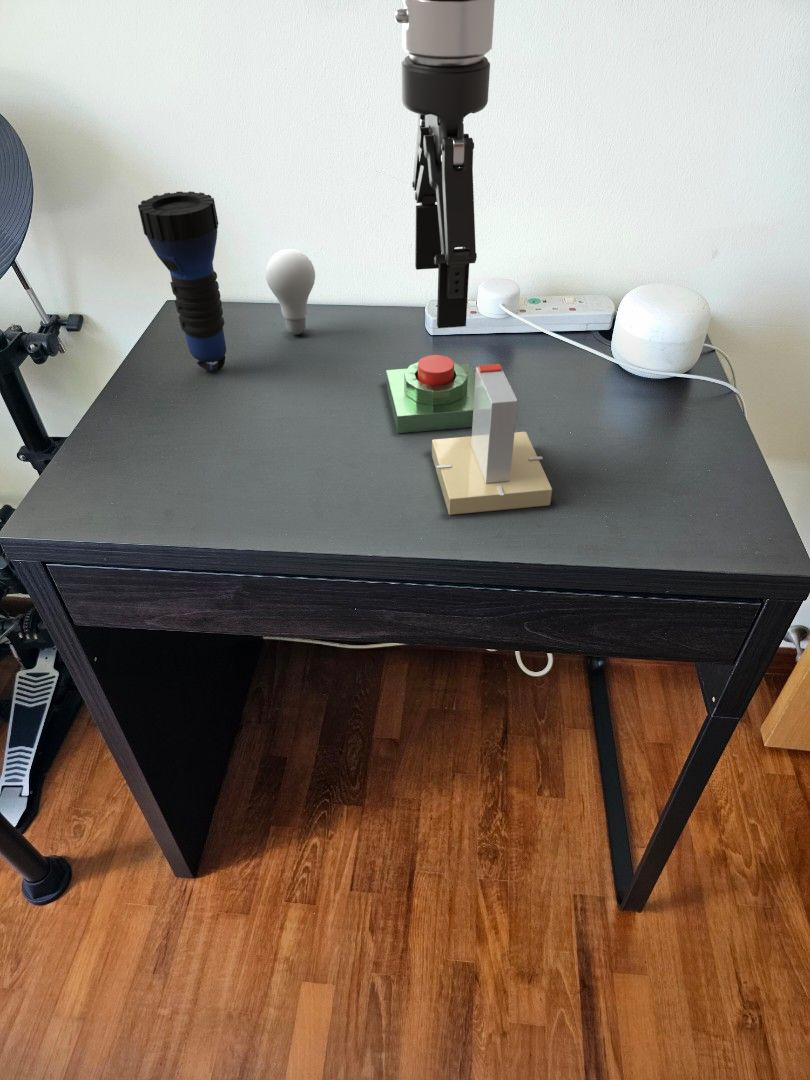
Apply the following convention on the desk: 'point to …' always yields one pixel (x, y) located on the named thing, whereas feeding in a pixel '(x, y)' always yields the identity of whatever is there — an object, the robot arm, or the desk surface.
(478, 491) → the panel
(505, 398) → the tap handle
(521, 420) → the desk surface
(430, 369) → the stop button
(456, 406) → the control block
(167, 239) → the flashlight
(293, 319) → the lightbulb
